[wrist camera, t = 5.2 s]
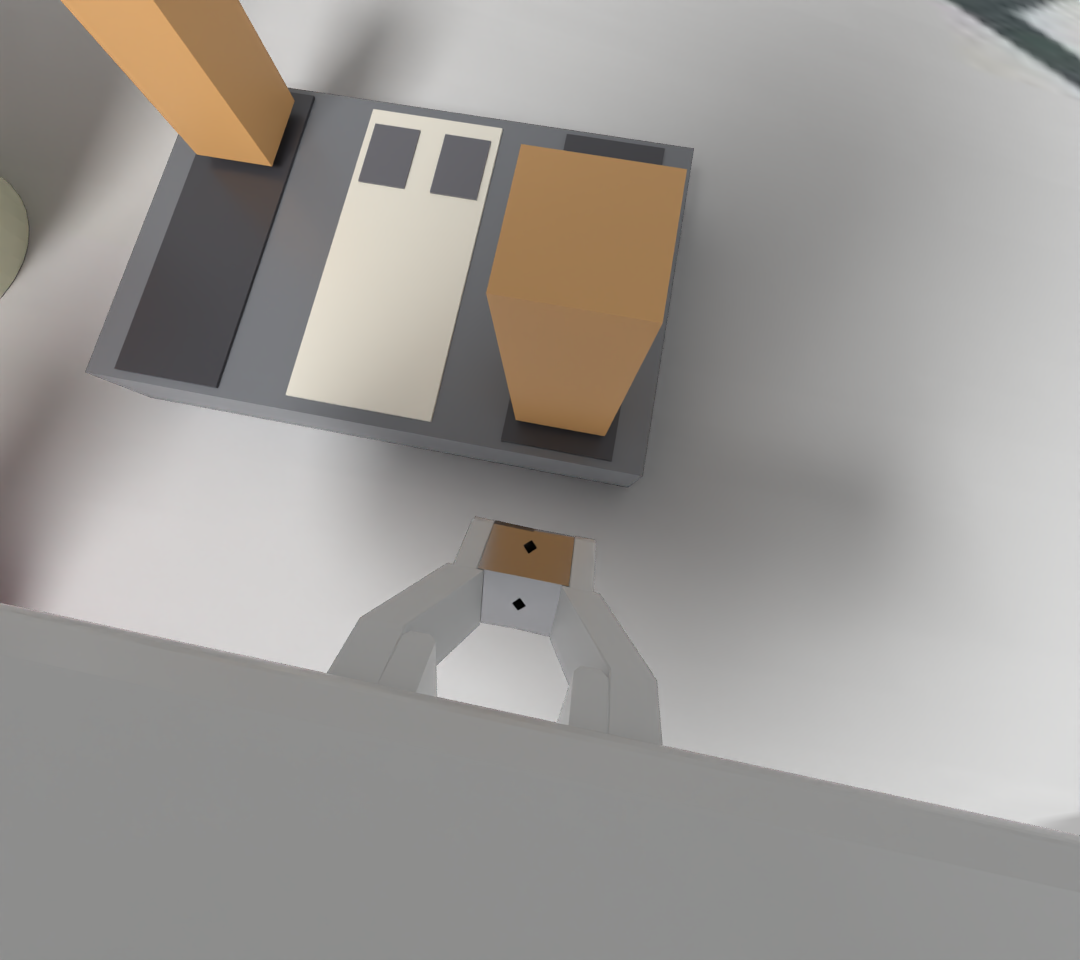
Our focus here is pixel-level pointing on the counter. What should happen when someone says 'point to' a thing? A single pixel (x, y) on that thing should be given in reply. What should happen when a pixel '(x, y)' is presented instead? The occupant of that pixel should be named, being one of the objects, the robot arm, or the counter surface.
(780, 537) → the counter surface
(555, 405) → the slider
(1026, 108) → the counter surface
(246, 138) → the slider
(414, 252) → the switch panel
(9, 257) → the reusable coffee cup
